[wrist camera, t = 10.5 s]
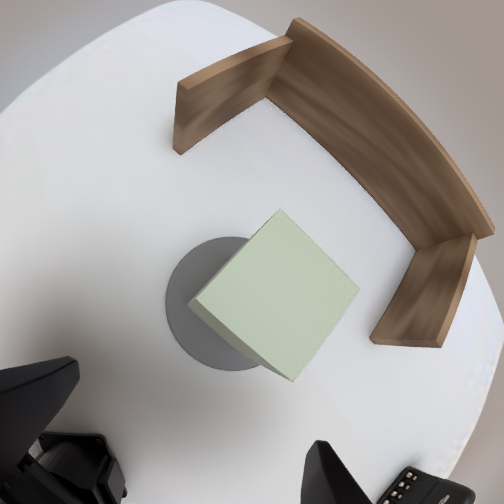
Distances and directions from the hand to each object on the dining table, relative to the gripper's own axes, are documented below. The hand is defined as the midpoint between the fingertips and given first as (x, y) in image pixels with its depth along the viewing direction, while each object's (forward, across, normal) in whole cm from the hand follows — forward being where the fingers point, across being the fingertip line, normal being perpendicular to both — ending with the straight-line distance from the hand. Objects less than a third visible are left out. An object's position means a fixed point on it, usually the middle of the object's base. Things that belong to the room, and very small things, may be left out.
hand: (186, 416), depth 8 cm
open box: (+19, -5, -8) cm, 21 cm away
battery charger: (+10, -23, +19) cm, 32 cm away
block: (+12, 0, +1) cm, 12 cm away
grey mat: (+13, 0, +1) cm, 13 cm away
